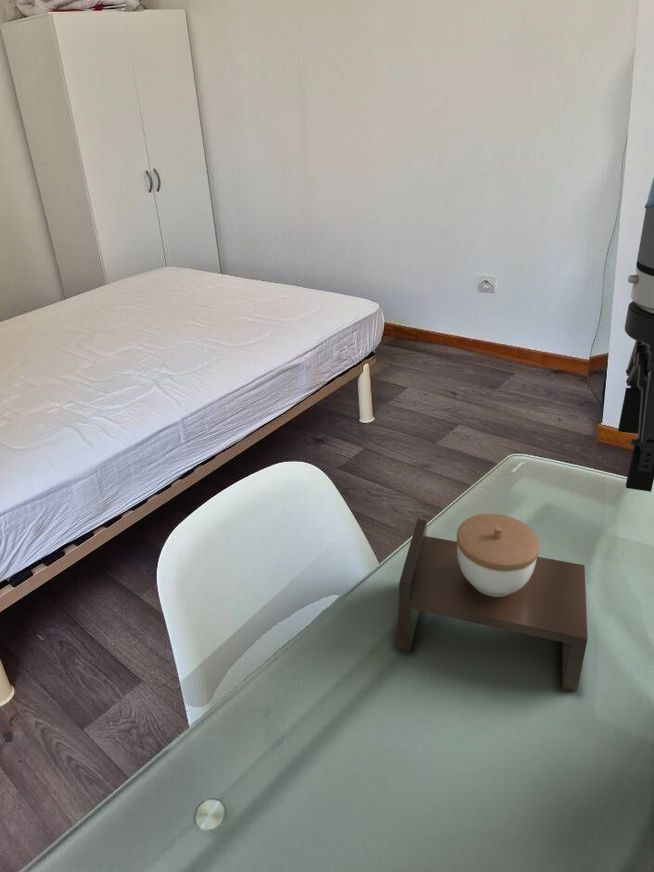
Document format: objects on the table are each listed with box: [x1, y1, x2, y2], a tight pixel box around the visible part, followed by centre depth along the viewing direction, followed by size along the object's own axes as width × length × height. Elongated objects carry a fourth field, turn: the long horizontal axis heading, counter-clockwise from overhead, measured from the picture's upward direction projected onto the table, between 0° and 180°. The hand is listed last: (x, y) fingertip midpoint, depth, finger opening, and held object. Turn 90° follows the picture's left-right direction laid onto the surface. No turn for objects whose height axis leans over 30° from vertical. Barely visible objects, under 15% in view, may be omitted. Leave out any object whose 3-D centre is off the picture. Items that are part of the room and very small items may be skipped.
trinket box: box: [456, 513, 541, 597], centre depth 94 cm, size 11×11×9 cm
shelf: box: [396, 518, 589, 693], centre depth 98 cm, size 24×14×13 cm, turn 70°
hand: (633, 458), depth 89 cm, fingers open, 13 cm apart
